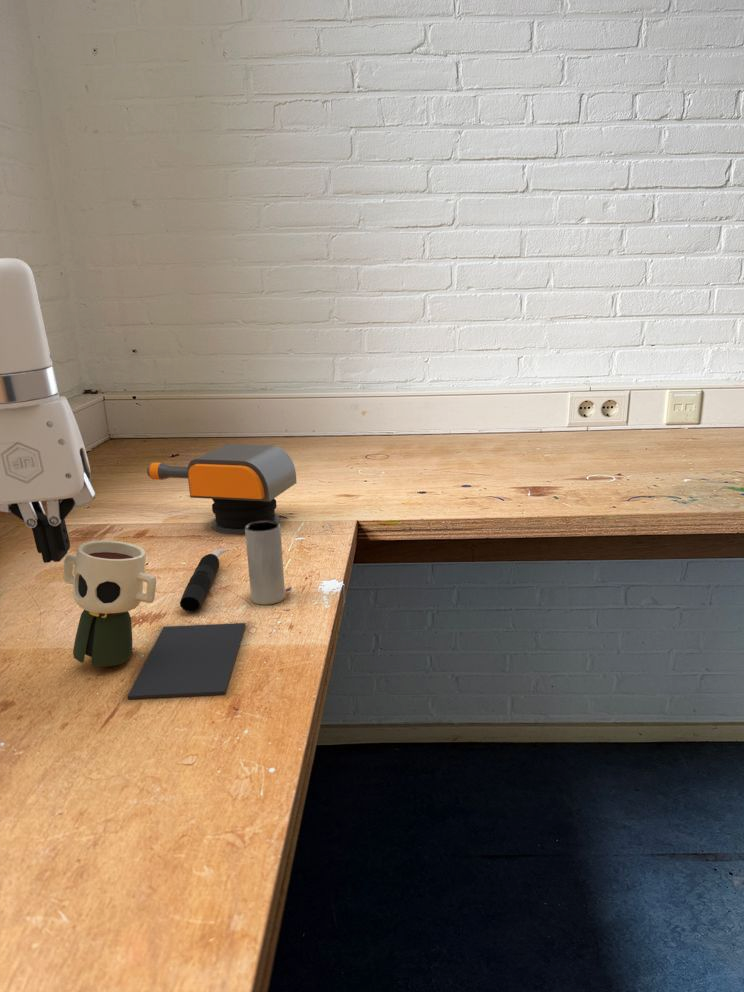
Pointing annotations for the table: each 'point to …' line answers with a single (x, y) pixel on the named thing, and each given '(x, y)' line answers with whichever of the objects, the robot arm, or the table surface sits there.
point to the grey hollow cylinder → (265, 562)
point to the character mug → (107, 598)
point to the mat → (189, 661)
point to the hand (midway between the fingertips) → (56, 557)
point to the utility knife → (201, 581)
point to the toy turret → (236, 482)
